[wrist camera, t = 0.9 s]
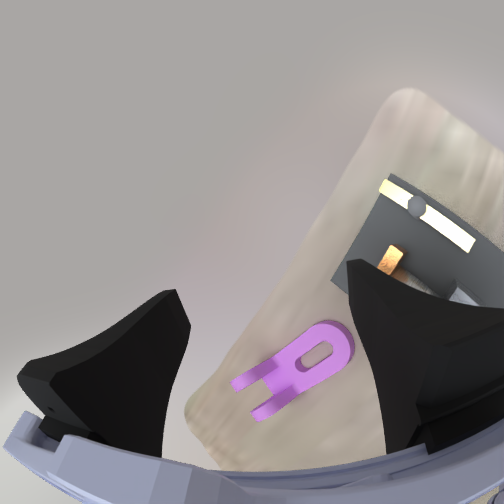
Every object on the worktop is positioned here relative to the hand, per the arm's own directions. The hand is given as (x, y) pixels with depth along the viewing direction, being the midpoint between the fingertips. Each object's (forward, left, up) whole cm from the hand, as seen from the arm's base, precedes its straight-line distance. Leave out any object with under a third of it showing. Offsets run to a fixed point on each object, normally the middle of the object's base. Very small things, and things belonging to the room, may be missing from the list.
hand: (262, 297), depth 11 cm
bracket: (-1, +14, -17) cm, 22 cm away
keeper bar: (-3, -6, -15) cm, 17 cm away
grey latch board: (-6, -2, -17) cm, 18 cm away
